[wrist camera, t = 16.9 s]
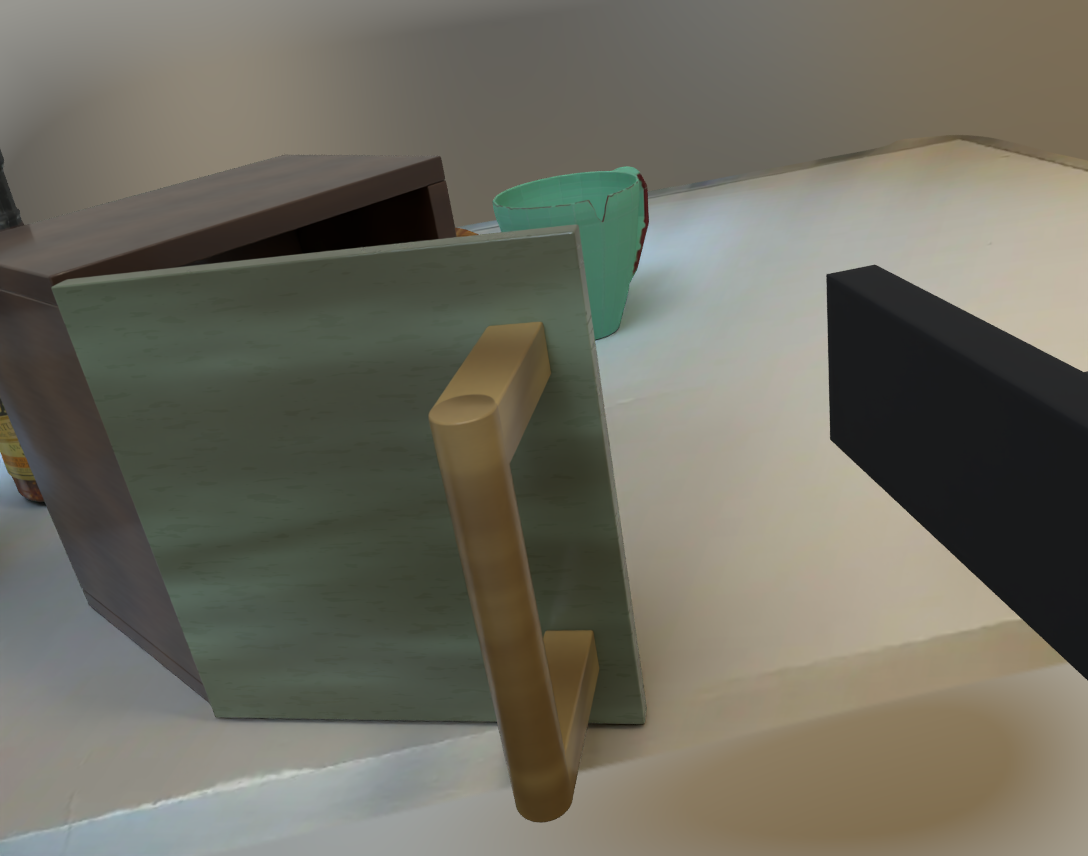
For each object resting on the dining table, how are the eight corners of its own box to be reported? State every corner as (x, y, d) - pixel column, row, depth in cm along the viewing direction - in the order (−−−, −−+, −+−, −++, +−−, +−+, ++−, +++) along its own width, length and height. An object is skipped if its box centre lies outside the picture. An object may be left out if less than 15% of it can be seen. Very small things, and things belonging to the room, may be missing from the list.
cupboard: (511, 514, 46) (441, 155, 39) (213, 707, 37) (48, 276, 30) (365, 460, 55) (284, 154, 47) (89, 605, 45) (-64, 249, 38)
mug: (614, 360, 62) (594, 206, 58) (490, 351, 67) (463, 209, 63) (704, 286, 73) (692, 152, 69) (591, 283, 78) (574, 158, 74)
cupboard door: (623, 888, 27) (524, 313, 20) (117, 860, 30) (-117, 369, 23) (647, 708, 33) (578, 223, 26) (225, 703, 37) (66, 279, 30)
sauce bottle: (-2, 512, 56) (-159, 164, 48) (61, 461, 61) (-70, 141, 53) (99, 504, 55) (-44, 146, 46) (154, 453, 60) (35, 125, 52)
